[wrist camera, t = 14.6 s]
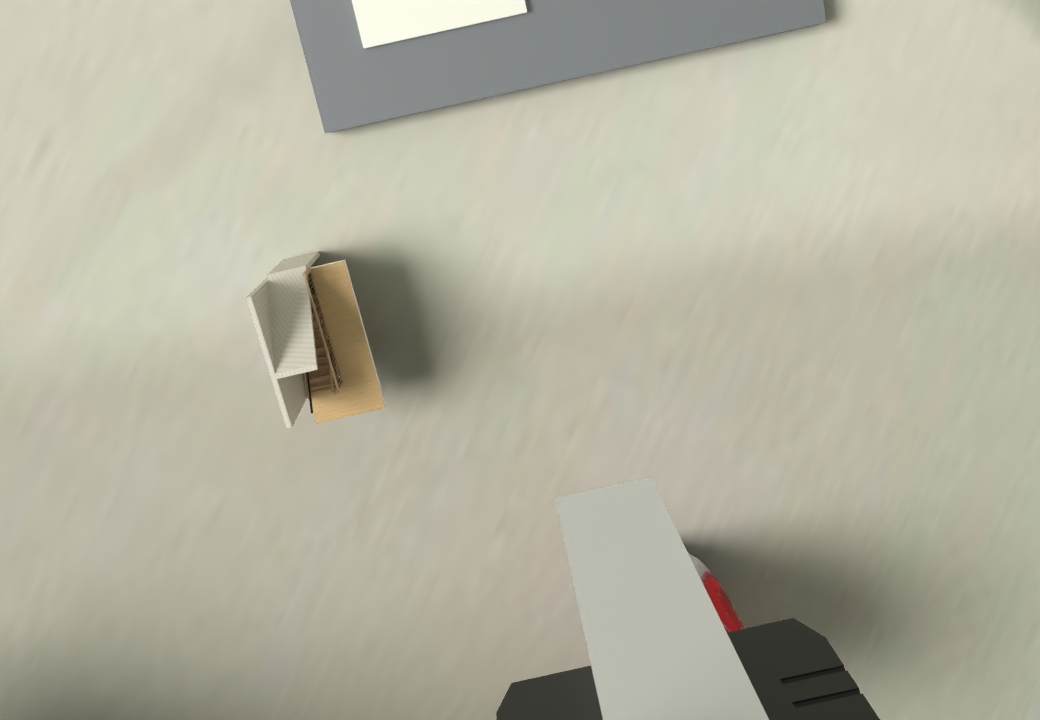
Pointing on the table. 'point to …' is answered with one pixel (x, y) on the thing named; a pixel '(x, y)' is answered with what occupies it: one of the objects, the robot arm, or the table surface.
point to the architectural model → (315, 340)
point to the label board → (504, 45)
